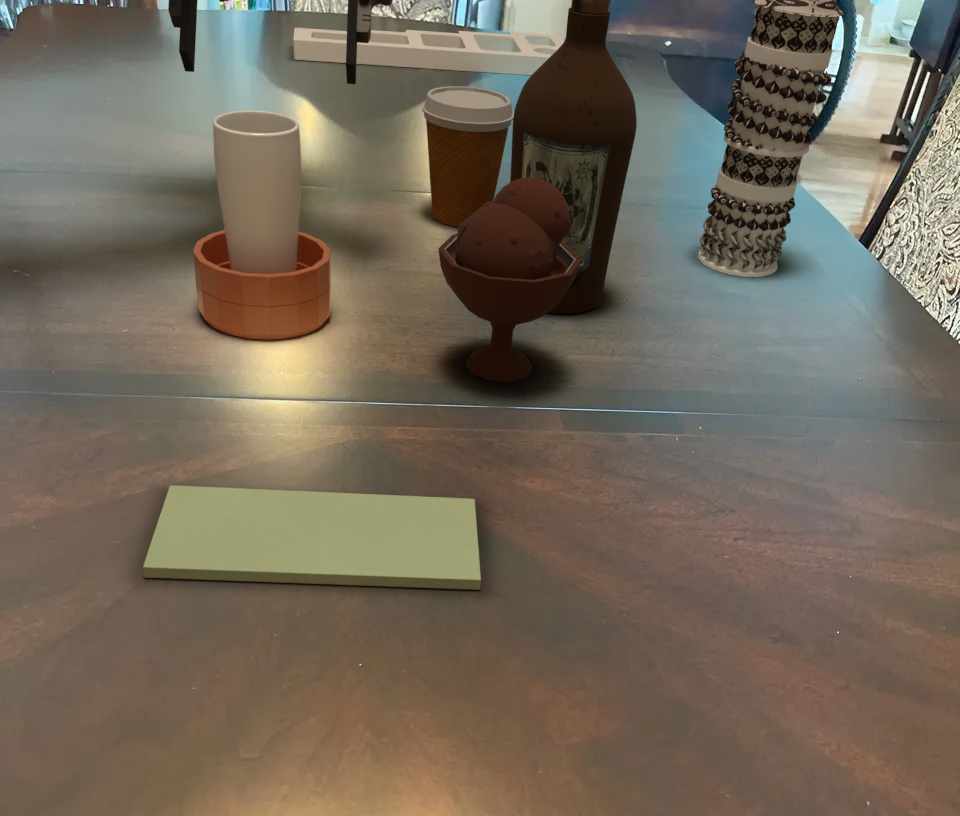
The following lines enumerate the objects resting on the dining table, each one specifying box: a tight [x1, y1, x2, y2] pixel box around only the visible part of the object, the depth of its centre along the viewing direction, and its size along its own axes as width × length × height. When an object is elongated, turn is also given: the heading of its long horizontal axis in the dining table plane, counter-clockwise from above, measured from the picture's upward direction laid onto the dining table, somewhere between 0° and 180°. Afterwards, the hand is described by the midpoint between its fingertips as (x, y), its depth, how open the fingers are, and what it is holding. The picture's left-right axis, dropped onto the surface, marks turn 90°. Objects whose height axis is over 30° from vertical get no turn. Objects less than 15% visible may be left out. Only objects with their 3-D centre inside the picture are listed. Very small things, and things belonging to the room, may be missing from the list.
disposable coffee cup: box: [421, 85, 514, 227], centre depth 111 cm, size 10×10×12 cm
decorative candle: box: [697, 0, 845, 278], centre depth 103 cm, size 9×9×25 cm
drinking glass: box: [212, 110, 302, 274], centre depth 87 cm, size 7×7×15 cm
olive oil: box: [509, 0, 638, 315], centre depth 92 cm, size 11×11×25 cm
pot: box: [192, 229, 332, 340], centre depth 90 cm, size 11×11×6 cm
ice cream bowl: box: [437, 177, 581, 383], centre depth 83 cm, size 11×11×15 cm
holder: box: [292, 27, 565, 76], centre depth 172 cm, size 45×18×3 cm, turn 96°
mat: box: [142, 484, 482, 591], centre depth 66 cm, size 20×9×1 cm, turn 93°
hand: (269, 68), depth 88 cm, fingers open, 13 cm apart
